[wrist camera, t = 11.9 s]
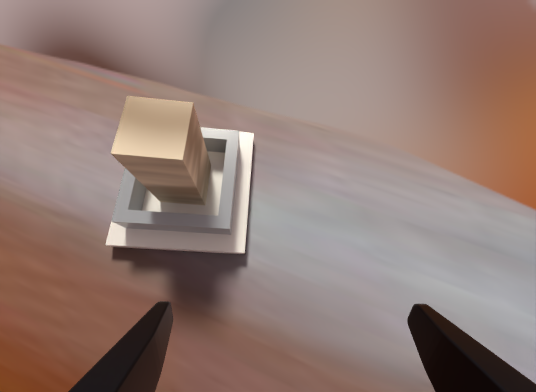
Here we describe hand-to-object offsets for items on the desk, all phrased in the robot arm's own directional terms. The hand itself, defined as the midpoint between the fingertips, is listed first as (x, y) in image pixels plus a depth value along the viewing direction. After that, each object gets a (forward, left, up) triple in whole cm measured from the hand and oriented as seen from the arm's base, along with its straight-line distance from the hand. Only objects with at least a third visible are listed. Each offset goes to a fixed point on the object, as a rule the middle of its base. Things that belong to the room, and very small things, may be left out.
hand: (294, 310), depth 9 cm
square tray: (+8, +9, -14) cm, 18 cm away
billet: (+8, +9, -12) cm, 17 cm away
